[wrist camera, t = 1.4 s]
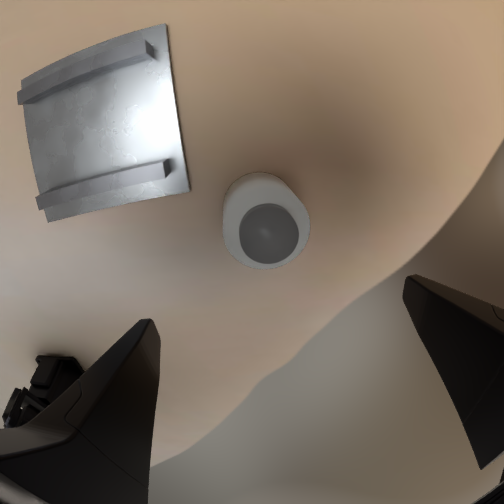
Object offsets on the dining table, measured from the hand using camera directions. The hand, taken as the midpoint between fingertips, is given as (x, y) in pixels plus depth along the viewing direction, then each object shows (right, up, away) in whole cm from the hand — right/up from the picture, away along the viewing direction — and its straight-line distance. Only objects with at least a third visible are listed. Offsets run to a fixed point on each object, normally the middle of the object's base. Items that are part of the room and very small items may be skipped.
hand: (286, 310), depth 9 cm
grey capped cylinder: (-1, +5, +11) cm, 12 cm away
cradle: (-12, +11, +7) cm, 18 cm away
